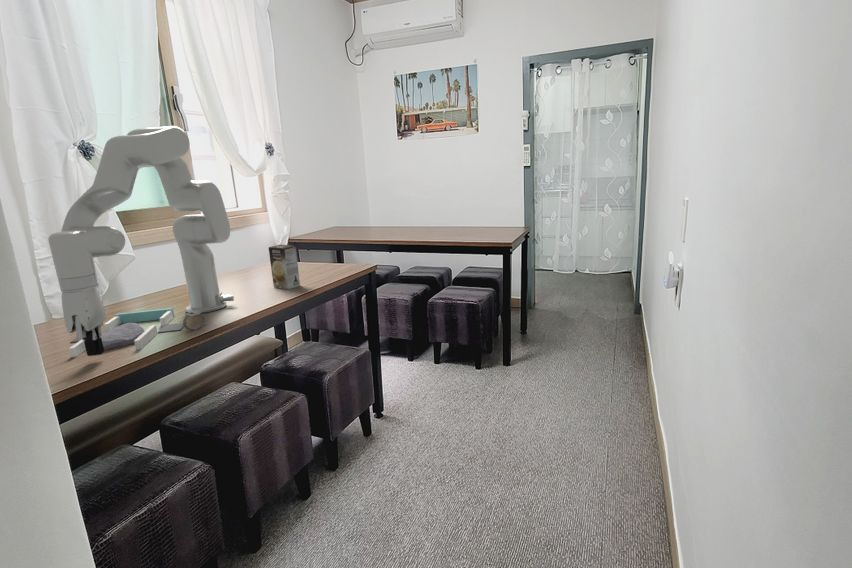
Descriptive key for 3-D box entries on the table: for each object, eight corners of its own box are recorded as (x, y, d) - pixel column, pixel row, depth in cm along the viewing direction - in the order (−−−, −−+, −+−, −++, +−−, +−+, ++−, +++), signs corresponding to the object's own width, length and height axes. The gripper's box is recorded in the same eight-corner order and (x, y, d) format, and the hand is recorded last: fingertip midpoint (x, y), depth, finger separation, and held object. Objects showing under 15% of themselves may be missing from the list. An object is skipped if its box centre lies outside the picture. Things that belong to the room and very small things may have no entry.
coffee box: (272, 287, 183) (267, 247, 180) (285, 283, 189) (280, 244, 185) (288, 289, 179) (283, 248, 175) (301, 285, 184) (296, 245, 180)
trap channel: (194, 314, 152) (193, 305, 151) (166, 346, 124) (163, 335, 123) (97, 325, 146) (94, 316, 146) (44, 360, 119) (41, 349, 118)
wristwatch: (202, 325, 141) (199, 309, 139) (208, 326, 139) (205, 310, 138) (182, 331, 136) (179, 315, 134) (188, 333, 134) (185, 316, 133)
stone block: (152, 344, 132) (136, 332, 137) (149, 329, 130) (133, 317, 135) (104, 360, 123) (89, 346, 128) (101, 345, 121) (86, 331, 127)
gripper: (77, 277, 118) (93, 345, 123) (43, 292, 104) (63, 368, 108) (109, 274, 120) (124, 342, 124) (81, 288, 105) (99, 363, 110)
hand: (96, 354), depth 116 cm, fingers closed
